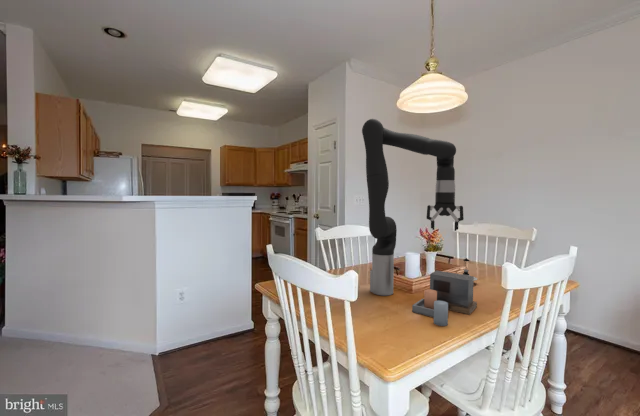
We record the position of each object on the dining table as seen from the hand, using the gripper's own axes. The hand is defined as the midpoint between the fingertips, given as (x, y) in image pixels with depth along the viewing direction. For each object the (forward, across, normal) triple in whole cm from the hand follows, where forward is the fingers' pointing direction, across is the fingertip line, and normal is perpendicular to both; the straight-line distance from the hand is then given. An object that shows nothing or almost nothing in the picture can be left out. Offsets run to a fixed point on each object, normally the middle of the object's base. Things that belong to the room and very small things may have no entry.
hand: (444, 230), depth 129 cm
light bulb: (+28, +10, +25) cm, 39 cm away
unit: (+28, +3, -10) cm, 30 cm away
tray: (+28, -4, -20) cm, 35 cm away
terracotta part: (+28, -4, -20) cm, 34 cm away
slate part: (+28, -1, -29) cm, 41 cm away
